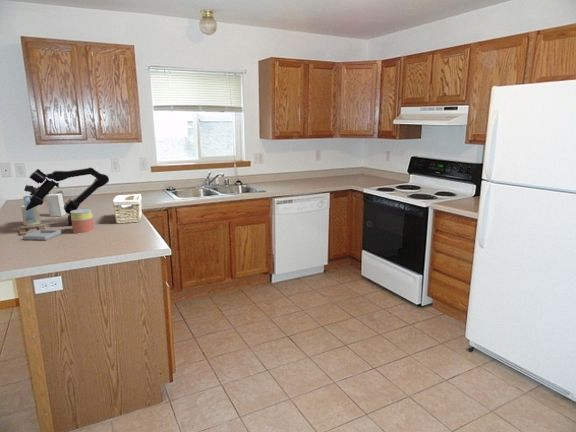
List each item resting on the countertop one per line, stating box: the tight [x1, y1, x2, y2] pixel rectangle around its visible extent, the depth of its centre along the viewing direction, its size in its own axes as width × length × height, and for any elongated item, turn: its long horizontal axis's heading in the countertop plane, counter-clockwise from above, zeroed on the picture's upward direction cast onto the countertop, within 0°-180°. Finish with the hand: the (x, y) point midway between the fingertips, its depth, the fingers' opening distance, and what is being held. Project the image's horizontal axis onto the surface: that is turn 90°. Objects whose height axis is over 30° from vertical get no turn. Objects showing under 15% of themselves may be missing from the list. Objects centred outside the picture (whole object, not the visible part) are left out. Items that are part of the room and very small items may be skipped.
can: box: [20, 205, 42, 226], centre depth 248 cm, size 9×9×12 cm
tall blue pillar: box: [22, 195, 36, 224], centre depth 231 cm, size 7×5×15 cm
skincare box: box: [45, 193, 67, 217], centre depth 269 cm, size 8×6×15 cm
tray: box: [22, 229, 63, 242], centre depth 220 cm, size 13×13×2 cm
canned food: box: [70, 208, 95, 234], centre depth 231 cm, size 11×11×12 cm
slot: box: [18, 225, 46, 237], centre depth 232 cm, size 14×12×1 cm
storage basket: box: [112, 193, 143, 224], centre depth 258 cm, size 24×16×15 cm
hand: (26, 209), depth 230 cm, fingers closed on tall blue pillar, 4 cm apart
